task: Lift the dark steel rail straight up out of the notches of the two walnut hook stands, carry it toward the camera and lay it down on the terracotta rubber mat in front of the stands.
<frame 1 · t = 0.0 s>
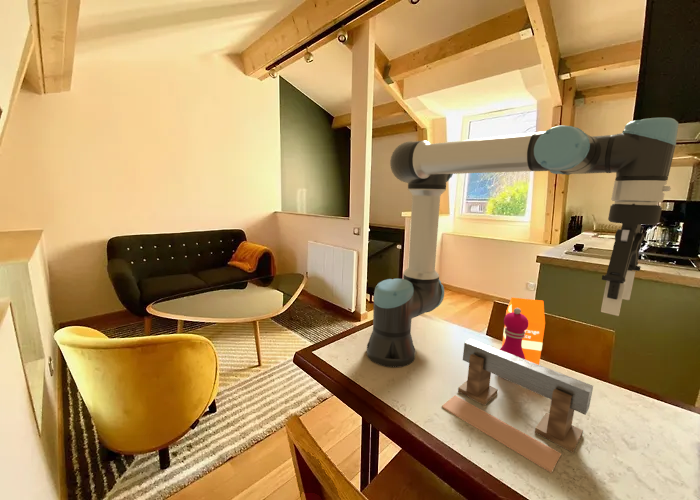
hand: (615, 305, 64), 28 cm above the table, tool pointing down, fingers open, 13 cm apart
hook stands: (514, 411, 73), on the table
orange juice: (518, 361, 95), on the table
rail: (518, 381, 71), point 8 cm above the table, touching hook stands
pepper mill: (509, 374, 88), on the table
mat: (495, 428, 67), on the table
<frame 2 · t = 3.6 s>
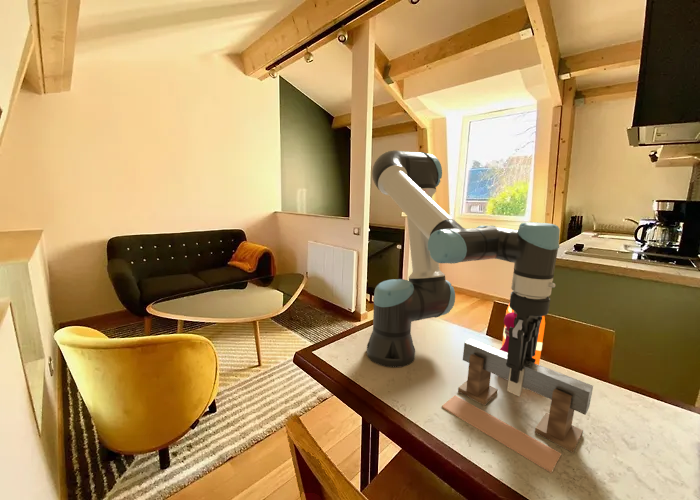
hand: (517, 389, 72), 6 cm above the table, tool pointing down, fingers closed on rail, 3 cm apart
rail: (518, 381, 71), point 8 cm above the table, touching gripper, hook stands
everything else where it was.
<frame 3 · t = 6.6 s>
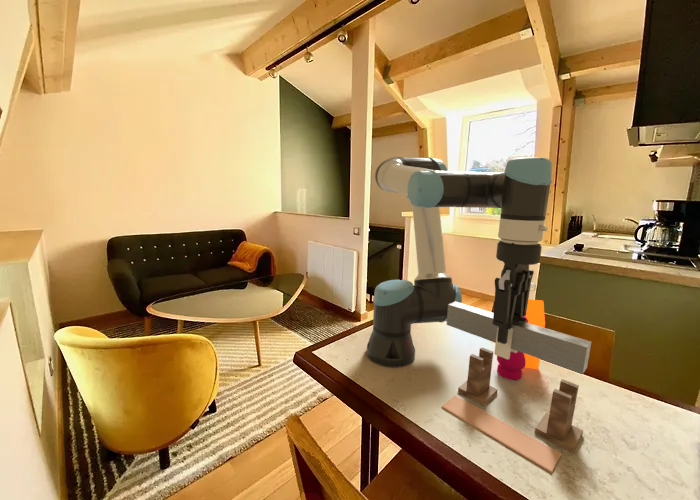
hand: (505, 352, 64), 18 cm above the table, tool pointing down, fingers closed on rail, 3 cm apart
rail: (507, 343, 63), point 20 cm above the table, touching gripper
everything else where it was.
when the fingers open (1 cm above the table, at t = 9.8 s): rail drops 3 cm, resting on mat.
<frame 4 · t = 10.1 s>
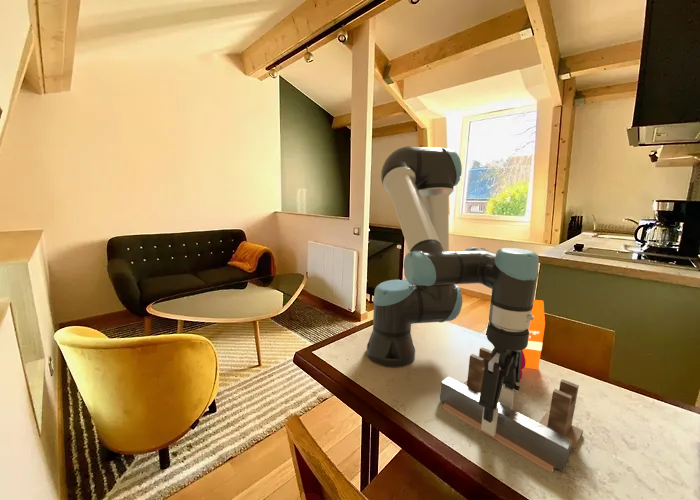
hand: (496, 422, 67), 2 cm above the table, tool pointing down, fingers open, 7 cm apart
rail: (495, 427, 67), resting on mat
everything else where it was.
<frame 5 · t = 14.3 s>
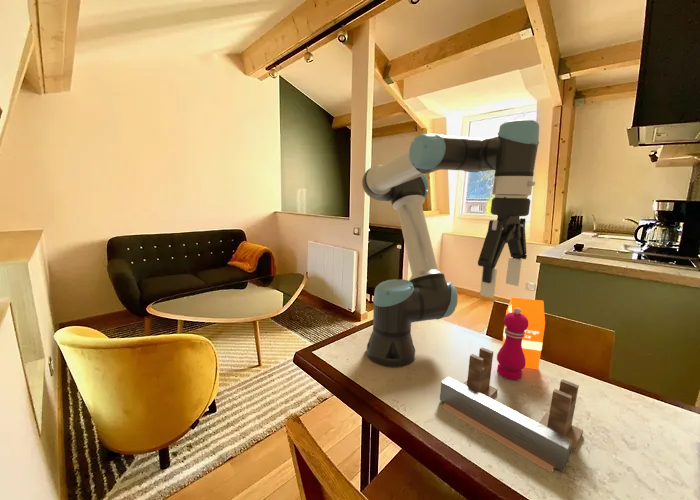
hand: (500, 290, 71), 29 cm above the table, tool pointing down, fingers open, 13 cm apart
nothing on the table moved.
at the end: rail inside the target area on the mat (0.0 cm from its centre), point 0.4 cm above the mat's base; rail touching mat; the gripper is holding nothing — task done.
